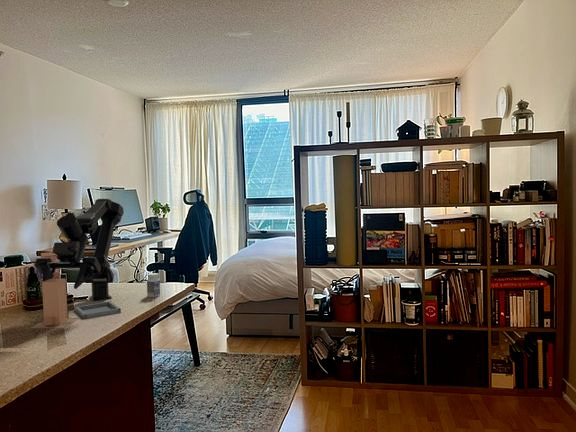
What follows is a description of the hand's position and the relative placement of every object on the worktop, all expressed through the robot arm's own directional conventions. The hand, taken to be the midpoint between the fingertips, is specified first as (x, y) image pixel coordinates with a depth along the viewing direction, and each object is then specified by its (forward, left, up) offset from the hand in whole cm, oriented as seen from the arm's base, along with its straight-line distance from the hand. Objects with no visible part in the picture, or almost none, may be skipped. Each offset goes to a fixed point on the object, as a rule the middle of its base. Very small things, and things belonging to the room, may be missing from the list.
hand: (59, 288), depth 131 cm
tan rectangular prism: (+2, -2, -10) cm, 10 cm away
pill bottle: (-15, +34, -11) cm, 39 cm away
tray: (-3, +11, -11) cm, 16 cm away
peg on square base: (+2, -2, -11) cm, 11 cm away
